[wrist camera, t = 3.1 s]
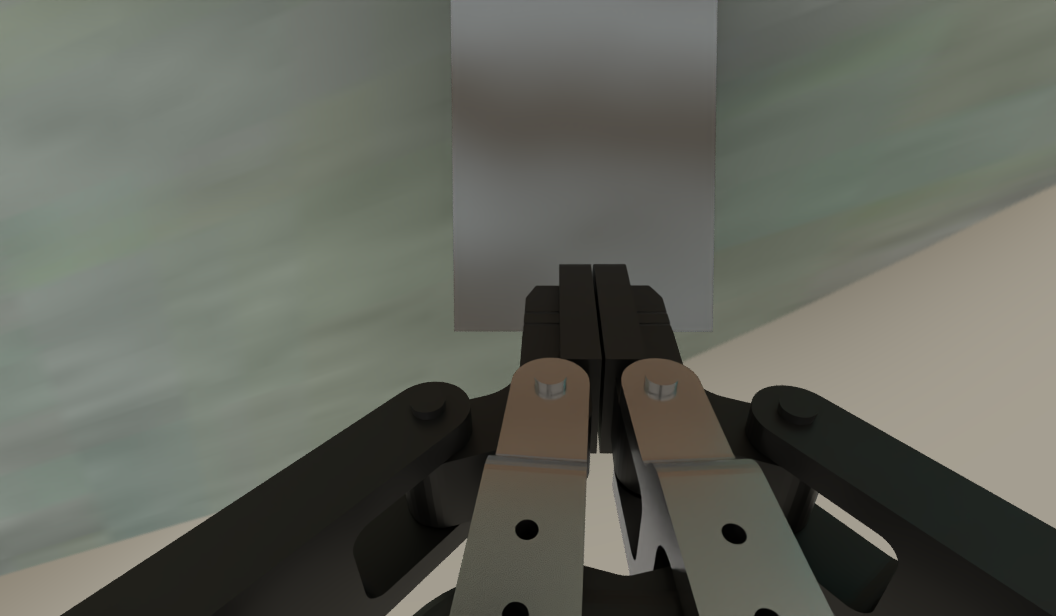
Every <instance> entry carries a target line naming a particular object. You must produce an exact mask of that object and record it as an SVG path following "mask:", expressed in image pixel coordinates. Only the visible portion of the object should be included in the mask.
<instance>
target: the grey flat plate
mask: <svg viewBox="0 0 1056 616" xmlns="http://www.w3.org/2000/svg"><path fill="white" fill-rule="evenodd" d="M717 6H718V0H451V69H452V163H453V257H454V331H523V326H524V314H525V301H526V297H527V296H528V294H529V293H530V292H531V291H532V290H533V288H534V287H535V286H559V264H591V269H593V264H626V267H627V271H628V276H629V280H630V284H631V285H649V286H650V287H652V288H653V289H654V290H655V291H656V292H657V293H658V294H659V295H660V296H661V297H662V298H663V301H664V304H665V308H666V311H667V314H668V317H669V320H670V326H671V327H672V330H673V332H713V277H714V209H715V141H716V74H717Z"/></svg>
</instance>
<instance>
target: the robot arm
mask: <svg viewBox="0 0 1056 616" xmlns="http://www.w3.org/2000/svg"><path fill="white" fill-rule="evenodd" d="M597 434H598V438H599V450H600V453H613V462H614V473H613V483H612V486H613V493H614V498H615V502H616V507H617V513H618V518H619V523H620V528H621V533H622V538H623V543H624V548H625V553H626V558H627V563H628V568H629V573H630V576H622V575H617V574H614V573H610V572H606V571H602V570H598V569H594V568H591V567H587V566H583V564H584V535H585V534H584V533H585V507H586V480H587V478H588V474H589V465H590V453H596V451H597ZM818 493H820V494H821V495H823V496H824V497H825V498H827V499H829V500H830V501H831V502H833V503H834V504H836V505H837V506H839V507H840V508H841V509H843V510H844V511H846V512H847V513H849V514H850V515H851V516H853V517H854V518H856V519H857V520H859V521H860V522H862V523H863V524H865V525H866V526H867V527H869V528H870V529H872V530H873V531H875V532H876V533H878V534H879V535H880V536H882V537H883V538H884V539H885V540H886V541H887V542H888V543H889V544H890V545H891V547H892V548H893V550H894V551H895V553H896V555H897V558H898V561H897V560H895V559H893V558H892V557H890V556H888V555H887V554H886V553H884V552H883V551H881V550H880V549H879V548H877V547H876V546H874V545H873V544H871V543H870V542H869V541H867V540H866V539H864V538H863V537H862V536H860V535H859V534H857V533H856V532H855V531H853V530H852V529H850V528H849V527H847V526H846V525H845V524H843V523H842V522H841V521H839V520H838V519H836V518H835V517H833V516H832V515H831V514H829V513H828V512H826V511H825V510H824V509H822V508H821V507H819V506H818V505H816V504H815V501H816V499H817V496H818ZM466 538H467V543H466V547H465V551H464V555H463V560H462V564H461V568H460V573H459V577H458V581H457V585H456V587H455V588H453V589H451V590H449V591H447V592H445V593H443V594H441V595H440V596H438V597H437V598H435V599H434V600H432V601H431V602H429V603H428V604H426V605H425V606H424V607H422V608H421V609H420V610H419V611H418V612H416V613H415V614H414V615H413V616H1056V529H1055V528H1053V527H1051V526H1050V525H1048V524H1046V523H1044V522H1043V521H1041V520H1039V519H1037V518H1036V517H1034V516H1032V515H1030V514H1028V513H1027V512H1025V511H1023V510H1021V509H1019V508H1018V507H1016V506H1014V505H1012V504H1011V503H1009V502H1007V501H1005V500H1004V499H1002V498H1000V497H998V496H997V495H995V494H993V493H991V492H989V491H988V490H986V489H984V488H982V487H981V486H979V485H977V484H975V483H973V482H972V481H970V480H968V479H966V478H964V477H963V476H961V475H959V474H957V473H956V472H954V471H952V470H950V469H949V468H947V467H945V466H943V465H942V464H940V463H938V462H936V461H934V460H933V459H931V458H929V457H927V456H925V455H924V454H922V453H920V452H918V451H917V450H915V449H913V448H911V447H910V446H908V445H906V444H904V443H903V442H901V441H899V440H897V439H895V438H894V437H892V436H890V435H888V434H886V433H885V432H883V431H881V430H879V429H878V428H876V427H874V426H872V425H870V424H869V423H867V422H865V421H864V420H862V419H860V418H858V417H856V416H855V415H853V414H851V413H849V412H847V411H846V410H844V409H842V408H840V407H839V406H837V405H835V404H833V403H832V402H830V401H828V400H826V399H825V398H823V397H821V396H819V395H817V394H815V393H813V392H810V391H808V390H805V389H802V388H798V387H793V386H783V385H782V386H771V387H767V388H764V389H762V390H760V391H759V392H757V393H756V394H755V396H754V397H753V399H752V402H751V403H747V402H743V401H739V400H734V399H730V398H726V397H722V396H719V395H716V394H713V393H711V392H709V391H706V390H705V389H704V388H703V386H702V384H701V382H700V380H699V378H698V376H697V375H696V374H695V373H694V372H693V371H691V370H690V369H689V368H688V367H686V366H684V365H683V363H682V359H681V356H680V353H679V350H678V346H677V343H676V340H675V337H674V333H673V330H672V327H671V326H670V320H669V317H668V314H667V311H666V308H665V304H664V301H663V298H662V297H661V296H660V295H659V294H658V293H657V292H656V291H655V290H654V289H653V288H652V287H650V286H649V285H631V284H630V280H629V276H628V271H627V267H626V264H593V269H591V264H559V286H535V287H534V288H533V290H532V291H531V292H530V293H529V294H528V296H527V297H526V301H525V314H524V326H523V336H522V348H521V360H520V368H519V369H518V370H517V371H516V372H515V374H514V375H513V378H512V381H511V384H510V385H508V386H507V387H505V388H504V389H502V390H500V391H498V392H496V393H493V394H490V395H487V396H482V397H478V398H474V399H469V398H468V396H467V394H466V393H465V392H464V391H463V390H462V389H460V388H459V387H457V386H455V385H453V384H449V383H445V382H427V383H421V384H418V385H415V386H412V387H410V388H408V389H406V390H404V391H403V392H401V393H400V394H398V395H396V396H395V397H393V398H392V399H390V400H389V401H387V402H386V403H384V404H383V405H381V406H380V407H378V408H377V409H375V410H374V411H372V412H371V413H369V414H367V415H366V416H364V417H363V418H361V419H360V420H358V421H357V422H355V423H354V424H352V425H351V426H349V427H348V428H346V429H345V430H343V431H341V432H340V433H338V434H337V435H335V436H334V437H332V438H331V439H329V440H328V441H326V442H325V443H323V444H322V445H320V446H319V447H317V448H316V449H314V450H312V451H311V452H309V453H308V454H306V455H305V456H303V457H302V458H300V459H299V460H297V461H296V462H294V463H293V464H291V465H290V466H288V467H287V468H285V469H283V470H282V471H280V472H279V473H277V474H276V475H274V476H273V477H271V478H270V479H268V480H267V481H265V482H264V483H262V484H261V485H259V486H257V487H256V488H254V489H253V490H251V491H250V492H248V493H247V494H245V495H244V496H242V497H241V498H239V499H238V500H236V501H235V502H233V503H232V504H230V505H228V506H227V507H225V508H224V509H222V510H221V511H219V512H218V513H216V514H215V515H213V516H212V517H210V518H209V519H207V520H206V521H204V522H203V523H201V524H200V525H198V526H196V527H195V528H193V529H192V530H191V531H189V532H188V533H186V534H184V535H183V536H181V537H180V538H178V539H177V540H175V541H173V542H172V543H170V544H169V545H167V546H166V547H164V548H163V549H161V550H160V551H158V552H157V553H155V554H154V555H152V556H151V557H149V558H148V559H146V560H144V561H143V562H142V563H140V564H138V565H137V566H135V567H134V568H132V569H131V570H129V571H128V572H126V573H125V574H123V575H122V576H120V577H118V578H117V579H115V580H114V581H112V582H111V583H109V584H108V585H106V586H105V587H103V588H102V589H100V590H99V591H97V592H96V593H94V594H93V595H91V596H90V597H88V598H86V599H85V600H83V601H82V602H81V603H79V604H77V605H76V606H74V607H73V608H71V609H70V610H68V611H67V612H65V613H64V614H62V615H60V616H385V615H387V614H388V613H389V612H390V611H391V610H392V609H393V608H394V607H395V606H396V605H397V604H398V603H399V602H400V601H401V600H402V599H403V598H404V597H406V596H407V595H408V594H409V593H410V592H411V591H412V590H413V589H414V588H415V587H416V586H417V585H418V584H419V583H420V582H421V581H422V580H423V579H424V578H425V577H427V576H428V575H429V574H430V572H432V571H433V570H434V569H435V568H436V567H437V566H438V565H439V564H440V563H441V562H442V561H443V560H444V559H445V558H446V557H448V556H449V555H450V554H451V553H452V552H453V551H454V550H455V549H456V548H457V547H458V546H459V545H460V544H461V543H462V542H463V541H464V540H465V539H466Z"/></svg>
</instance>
